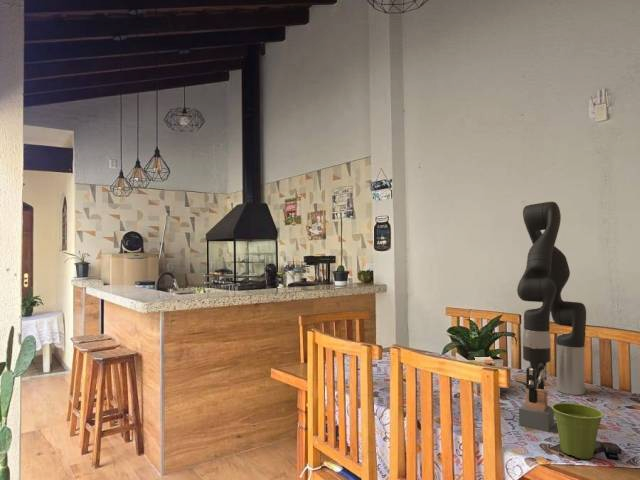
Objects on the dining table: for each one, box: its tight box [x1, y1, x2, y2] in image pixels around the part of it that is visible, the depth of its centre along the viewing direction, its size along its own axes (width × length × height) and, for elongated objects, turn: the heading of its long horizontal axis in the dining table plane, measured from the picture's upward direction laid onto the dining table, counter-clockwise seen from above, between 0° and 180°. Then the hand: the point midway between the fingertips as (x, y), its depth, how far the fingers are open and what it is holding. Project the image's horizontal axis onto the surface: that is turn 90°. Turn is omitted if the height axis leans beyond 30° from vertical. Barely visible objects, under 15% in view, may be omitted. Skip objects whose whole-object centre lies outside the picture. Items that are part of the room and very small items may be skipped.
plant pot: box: [550, 402, 604, 460], centre depth 119 cm, size 12×12×11 cm
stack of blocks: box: [473, 356, 496, 397], centre depth 177 cm, size 21×6×12 cm, turn 171°
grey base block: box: [518, 401, 555, 432], centre depth 139 cm, size 8×8×5 cm
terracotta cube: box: [525, 388, 549, 412], centre depth 139 cm, size 5×5×5 cm
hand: (536, 398), depth 139 cm, fingers open, 8 cm apart
